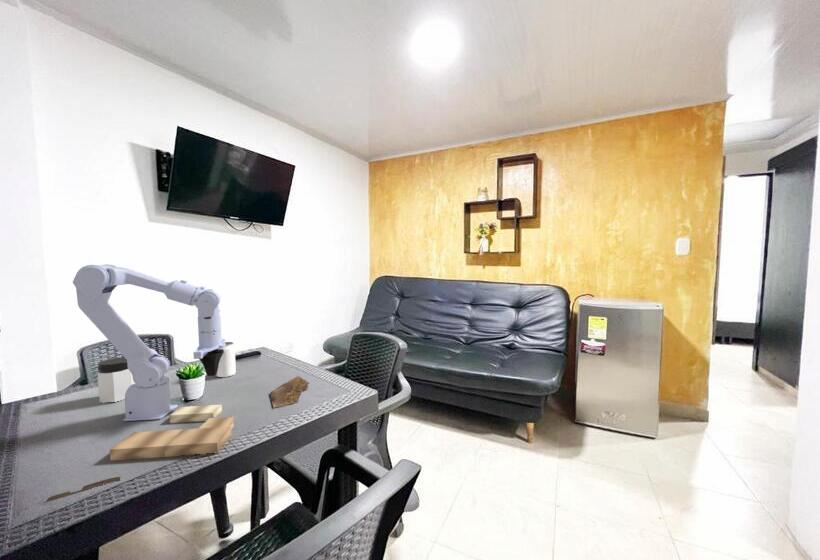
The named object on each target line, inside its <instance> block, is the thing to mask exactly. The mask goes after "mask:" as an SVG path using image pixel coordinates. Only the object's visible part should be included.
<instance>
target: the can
mask: <svg viewBox="0 0 820 560" xmlns="http://www.w3.org/2000/svg"><path fill="white" fill-rule="evenodd" d="M225 344H226V346H225V347H223V348H218V349H223V350H224V353H223V354H222V356H221V359H220V362H219V366H218V371H217V374H216V375H215V376H216V377H217V378H218V377H226V378H230V377H232V375H233V376H235V374H236V370H237V369H236V348H235V347H236V346H235V345H234V342H231V341H225ZM229 376H230V377H229Z"/></svg>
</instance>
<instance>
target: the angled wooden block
mask: <svg viewBox="0 0 820 560" xmlns="http://www.w3.org/2000/svg"><path fill="white" fill-rule="evenodd" d="M234 420H235V419H234V416H226V417H223V416H222V417H216V418H209V419H208V420H207V421H204V423H203V424H201V425H200V426H199V427H198V428H182V429H170V430H169V429H168V430H166V429H165V430H151V431H150V430H148V431H135V432H132V433H131V434H129V435H128V436H126V437H125V438H124V439H122V440H121V441H120V442H118V443H117V444H115V446H112V447H111V448H110V449H109V457H110V462H111V461H113V462H114V461H126V460H137V459H139V460H141V459H152V458H153V459H157V458H168V457H182V456H181V455H186V456H196V455H195V454H200V455H207V454H206V453H215V452H218V451H219V450H220V449H221V447H222V446H223V445H224V444H225V443H226V444H227V443H228V441H229V440H230V439H231V438H232V429H233V428H234V427H235V421H234ZM230 437H231V438H230ZM229 438H230V439H229ZM228 439H229V440H228ZM226 444H225V445H226ZM225 445H224V446H225ZM224 446H223V447H224ZM223 447H222V448H223ZM221 450H222V449H221ZM221 450H220V451H221ZM220 451H219V452H220ZM219 452H218V453H219ZM215 454H216V453H215Z"/></svg>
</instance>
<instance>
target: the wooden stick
mask: <svg viewBox="0 0 820 560" xmlns="http://www.w3.org/2000/svg"><path fill="white" fill-rule="evenodd" d="M116 482H118V483H119V482H121V476H115V477H110V478H107V479H103V480H99V481H96V482H92V483H89V484H86V485H84V486H83V487H82V489H79V490H77V491H72V492H71V490H70V491H66V492H63V493H58V494H56V495H51V496H49V497H48V498H47V499H46V501H43V502H40V503H38V505H41V504H44V503H48V502H52V501H55V500H59V499H62V498H66V497H69V496H72V495H75V494H78V493H82V492H85V491H90V490H93V489H92V488H94V487H97V488H99V487H98V486H100V487H103V484H104V486H107V485H106V484H108V485H111V484H114V483H116ZM89 489H90V490H89ZM94 489H95V488H94Z"/></svg>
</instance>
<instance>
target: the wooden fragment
mask: <svg viewBox="0 0 820 560" xmlns="http://www.w3.org/2000/svg"><path fill="white" fill-rule="evenodd" d="M309 384H310V382H308V381H307V380H306V379H303V378H302V377H301V376H300V375H297V376H296V377H294V378H292V379H290V380H288V381H286V382H285V383H282V384H281V385H279V386H277V387H276V388H275V389H273V390H272V391H270V393H269V396H270V398H271V404H272V406H273V407H272V410H274V409H280V408H285V407H287V406H291V405H294V404H297V403H298V402H299V398H300V396H301V393H302V392H305V391H306V390H307V389H309V387H308V385H309Z"/></svg>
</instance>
